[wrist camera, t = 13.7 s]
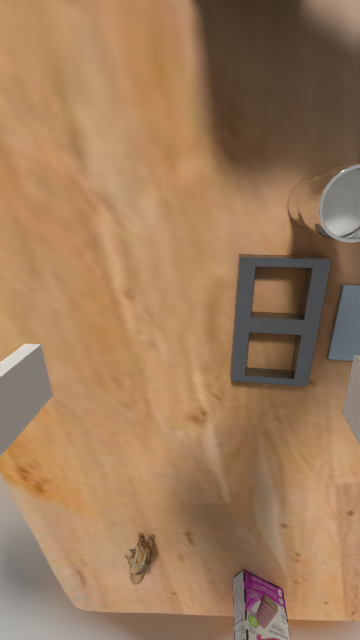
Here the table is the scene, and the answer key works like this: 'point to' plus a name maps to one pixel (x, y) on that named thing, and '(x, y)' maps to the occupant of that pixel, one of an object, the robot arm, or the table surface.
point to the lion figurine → (139, 559)
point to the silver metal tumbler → (329, 204)
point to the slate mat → (346, 325)
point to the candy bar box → (258, 609)
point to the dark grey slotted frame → (278, 318)
